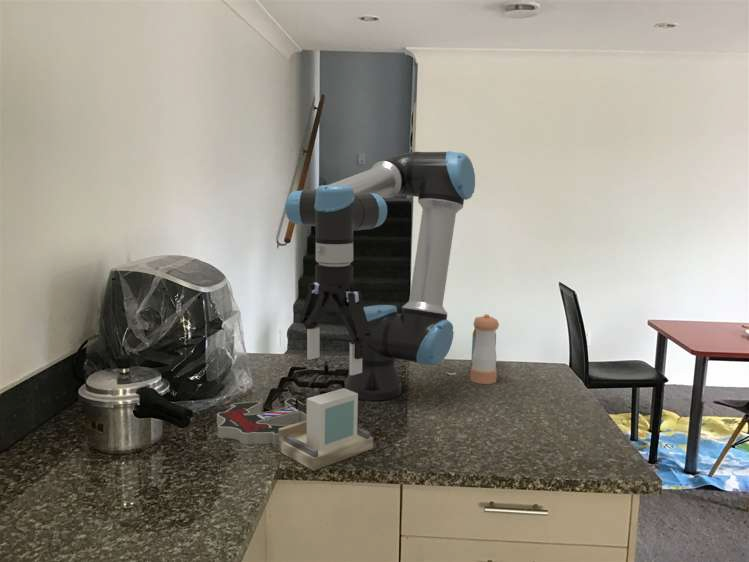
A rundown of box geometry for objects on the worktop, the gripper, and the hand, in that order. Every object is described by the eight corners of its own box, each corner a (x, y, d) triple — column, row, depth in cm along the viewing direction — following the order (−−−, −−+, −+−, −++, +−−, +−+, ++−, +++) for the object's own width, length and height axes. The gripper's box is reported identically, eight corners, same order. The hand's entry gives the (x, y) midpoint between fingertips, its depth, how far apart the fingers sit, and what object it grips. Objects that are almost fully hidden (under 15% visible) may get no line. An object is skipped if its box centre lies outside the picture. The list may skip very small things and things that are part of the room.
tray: (278, 451, 140) (278, 428, 139) (336, 431, 151) (337, 410, 150) (313, 470, 131) (313, 446, 130) (373, 448, 142) (373, 426, 141)
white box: (306, 444, 137) (306, 398, 136) (343, 432, 144) (343, 388, 142) (320, 451, 134) (320, 404, 132) (357, 438, 141) (358, 393, 139)
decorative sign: (197, 411, 155) (308, 388, 172) (198, 422, 155) (308, 398, 173) (240, 443, 137) (358, 414, 155) (240, 456, 138) (358, 425, 156)
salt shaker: (470, 375, 194) (473, 311, 191) (495, 377, 193) (499, 312, 190) (470, 383, 187) (473, 316, 183) (496, 385, 186) (500, 318, 182)
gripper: (282, 257, 139) (283, 355, 143) (362, 273, 121) (360, 385, 125) (310, 254, 144) (311, 349, 148) (391, 269, 126) (389, 376, 130)
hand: (333, 365), depth 136 cm, fingers open, 13 cm apart
